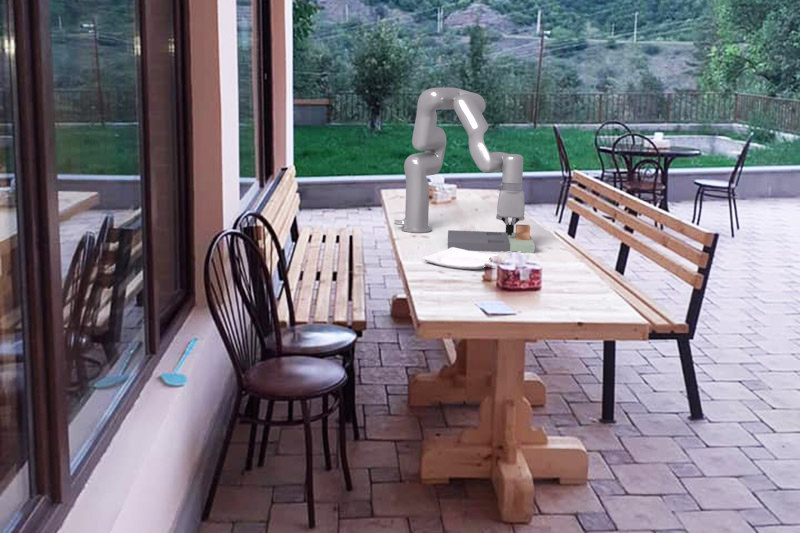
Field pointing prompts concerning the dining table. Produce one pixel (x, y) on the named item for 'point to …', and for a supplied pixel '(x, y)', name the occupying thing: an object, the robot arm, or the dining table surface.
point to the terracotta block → (522, 232)
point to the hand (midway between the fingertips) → (509, 234)
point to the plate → (459, 258)
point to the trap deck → (488, 241)
